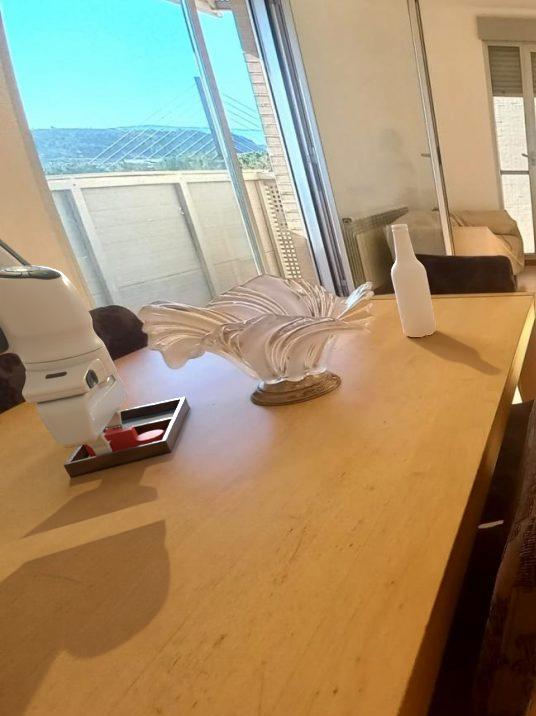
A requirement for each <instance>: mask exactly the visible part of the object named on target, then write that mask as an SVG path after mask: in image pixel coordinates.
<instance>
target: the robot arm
mask: <svg viewBox="0 0 536 716" xmlns="http://www.w3.org/2000/svg"><path fill="white" fill-rule="evenodd" d="M5 354H15V355H17V357H19V359H20V361H21V363H22V365H23V367H24V369H25V372H24V373H25V381H24V385H23V388H22V390H21V395H22V397H23V399H24V400H25V401H26V403H27V404H28V405H29V404H30V405H32V404H36V406H35V407H36V412H37V414H38V416H39V418H40V421H42V423H43V425H44V426H45V428H46V429H47V431H48V432H49V434H50V435H51V436H52V438H53V440H54V441H55V442H56V443H57V444H58V445H60V446H61V447H63V448H65V449H71V448H75V447H76V448H77V447H78V446H80V445H85V444H87V445H88V446H90V447H91V448H92V449H93V450H94V452H95V454H96V455H97V456H98V455H102V454H106V453H110V452H112V450H113V449H114V447H113V446H112V443H111V441H107V440H106V438H105V437H104V432H103V430H104V429H105V427H107V428H106V429H105V430H106V432H109V431H113V430H117V429H122V428H124V427H123V425H122V420H121V413H120V408H121V406H122V405H123V403H124V401H126V399H127V398H128V389H127V387H126V385H125V383H124V382H123V380H122V378H121V376H120V375H119V373H118V371H117V366H116V365H115V363H114V361H113V359H112V357H111V355H110V352H109V350H108V349H107V346H106V344H105V343H104V341H103V340H102V339H101V338H100V337H99V336H98V335H97V333H96V331H95V330H94V326H93V318H92V315H91V313H90V311H89V309H88V307H87V305H86V303H85V302H84V300H83V298H82V296H81V294H80V293H79V291H78V290H77V288H76V287H75V285H74V284H73V282H72V281H71V280H70V279H69V278H68V277H67V276H66V275H64V274H63V273H62V272H61V271H59V270H57V269H56V268H55V269H54V268H52V267H48V266H43V265H42V266H41V265H32V264H31V263H29V262H28V261H27V260H26V259H24V258H23V257H22V255H20V254H19V253H17V252H16V251H15V250H14V249H13V248H12V247H11V246H9V245H8V244H7V243H6V242H5V241H4V240H2V239H1V238H0V356H1V355H5Z"/></svg>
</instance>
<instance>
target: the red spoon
mask: <svg viewBox="0 0 536 716" xmlns="http://www.w3.org/2000/svg"><path fill="white" fill-rule="evenodd" d="M164 435H165V433H164V431H163V430H153V431H149V432H146V433H143V434H141V435H139V436H138V434H137V432H136V430H135V428H134V426H131V427H126V428H122V429H117V430H113V431H109V432H104V437H105V438H106V440H107V441H111V443H112V446H113V447H114V449H113V450H112V452H115V451H119V450H123V449H127V448H131V447H135V446H140V445H144V444H148V443H152V442H156V441H160V440H162V439H163V437H164ZM84 446H85V448H86V449H87V451H88V453H89V455H90V457H94V456H97V455H96V454H95V452H94V450H93V449H92V448H91V447H90V446H88V445H87V444H85V445H84Z"/></svg>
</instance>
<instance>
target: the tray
mask: <svg viewBox="0 0 536 716" xmlns="http://www.w3.org/2000/svg"><path fill="white" fill-rule="evenodd" d="M119 410H120V409H119ZM189 411H190V405H189V402H188V400H187V398H186V396H183V397H178V398H173V399H168V400H164V401H158V402H155V403H148V404H145V405H140V406H135V407H131V408H127V409H121V410H120V413H121V420H122V425H123V427H124V428H126V427H131V426H134V428H135V430H136V432H137V434H138V436H139V435H141V434H143V433H146V432H149V431H153V430H163V431H164V433H165V435H164V437H163V439H162V440H160V441H156V442H152V443H148V444H144V445H140V446H135V447H131V448H127V449H123V450H119V451H115V452H110V453H106V454H102V455H98V456H94V457H90V455H89V453H88V451H87V449H86V448H85V446H84V445H80V446H76V448H75V449H74V450H73V452H72V453H71V454H70V456H69V457H68V458H67V460H66V461H65V462H64V463H63V465H62V466H63V467H64V470H65V471H66V472H67V474H68V476H69V478H71V479H72V478H75V477H76V478H77V477H79V476H83V475H88V474H92V473H95V472H99V471H102V470H107V469H111V468H115V467H120V466H123V465H126V464H130V463H134V462H139V461H143V460H147V459H151V458H154V457H158V456H163V455H167V454H170V453H171V454H172V452H173V450H174V447H175V444H176V442H177V439H178V437H179V434H180V433H181V429H182V427H183V424H184V423H185V420H186V417H187V415H188V412H189ZM106 428H107V427H105V429H106ZM105 429H104V430H103V432H106V430H105Z"/></svg>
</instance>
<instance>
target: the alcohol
mask: <svg viewBox="0 0 536 716" xmlns="http://www.w3.org/2000/svg"><path fill="white" fill-rule="evenodd" d="M408 226H409V225H408V224H407V223H396V224H392V225H391V226H390V228H391V233H392V237H393V243H394V251H395V252H394V253H395V262H394V264H393V265H392V267H391V272H390V276H391V281H392V285H393V290H394V294H395V300H396V304H397V309H398V313H399V318H400V323H401V327H402V332H403V335H405V336H406V335H407V336H422V335H427V334H430V333H432V332H434V331H435V332H436V331H437V323H436V318H435V312H434V307H433V301H432V296H431V290H430V285H429V280H428V275H427V270H426V268H425V266H424V265H423V264H422V263H421V262H420V261H419V260H418V259H417V257H416V254H415V252H414V247H413V244H412V240H411V236H410V233H409V232H410V231H409V228H408ZM407 336H406V337H407Z"/></svg>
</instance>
